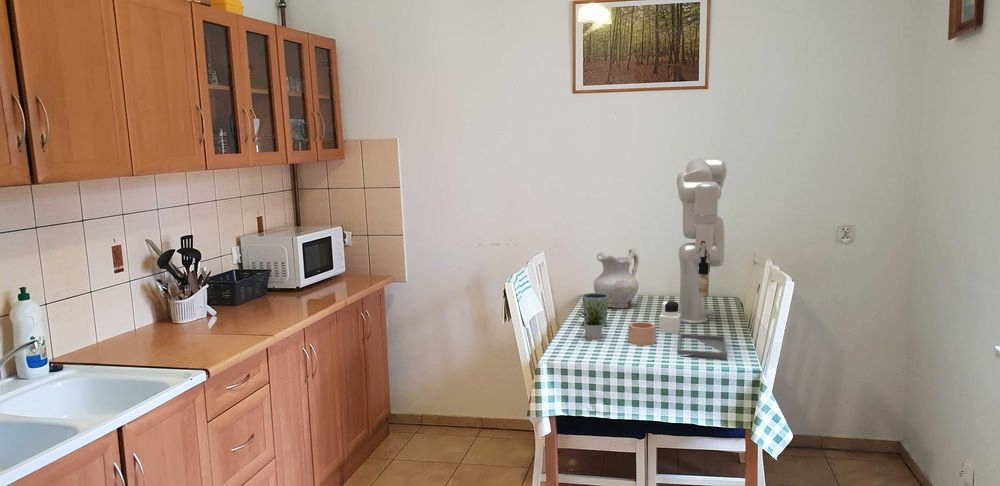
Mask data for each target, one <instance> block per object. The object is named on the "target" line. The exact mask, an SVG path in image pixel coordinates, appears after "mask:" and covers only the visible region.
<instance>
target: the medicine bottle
mask: <svg viewBox="0 0 1000 486" xmlns="http://www.w3.org/2000/svg"><path fill="white" fill-rule="evenodd" d="M679 306H680V303H678V302H676V301H673V300H666V301H663V302H662V303H661V313H660V315H659V319H658V320H659V321H658V322H659V323H658V324H659V325H658V327H659V328H658V332H659V333H668V334H680V332H681V322H680V315H681V314H680V312H679Z"/></svg>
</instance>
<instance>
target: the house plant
mask: <svg viewBox="0 0 1000 486" xmlns="http://www.w3.org/2000/svg"><path fill="white" fill-rule="evenodd" d="M591 299H592V301H593V310H592V305H591V303H590V302H589V301H588V299H586V301H587V305H588V310H587V311H588V312H587V311H586V312H587V313H588V315H589V316H588V315H587V314H585V313H584V311H581V310H579V313H581V314H579V315H578V316H577V317H581V318H583V320H585V319H586V318H587V319H588V320H589V321H587V319H586V321H587V322H585V321H584V322H583V327H584V333H585V338H586V339H589V340H600V339H601V338H602V333H603V328H604V327H603V323H602V322H599V321H600V320H601V319H602V320H604V319H603V317H605V319H606V316H605V315H606V314H607V315H608V314H609V313H610V312H612V311H607V313H605V314H604V312H603V311H604V309H605V308H606V307H607V306H609V305H607V304H606V303H607V302H609V301H611V300H608V301H606V302H605V303H604V304H603V305H602V306H601V308H600V309H599V306H600V303H601V298H600V299H599V300H598V303H597V306H596V307H595V301H594V299H593V298H592V297H591ZM575 302H576V303H577V301H575ZM578 304H579V305H581V303H580V302H578ZM605 304H606V305H607V306H606V307H605V308H604V309H603V311H602V312H603V313H602V312H601V313H600V314H599V312H600V311H601V309H602V308H603V306H604V305H605ZM610 305H613V304H610ZM582 308H583V309H585V308H586V307H585V308H584V307H583V306H582ZM607 308H608V307H607ZM586 309H587V308H586ZM586 309H585V310H586ZM598 309H599V311H598ZM598 314H599V315H598ZM602 314H604V315H603V316H601V315H602ZM584 316H585V317H586V318H585V317H584ZM600 316H601V317H600Z"/></svg>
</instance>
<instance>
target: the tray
mask: <svg viewBox="0 0 1000 486" xmlns="http://www.w3.org/2000/svg"><path fill="white" fill-rule="evenodd" d="M678 334H679V335H678V343H677V345H678V346H677V355H679V356H677V358H691V359H692V358H693V359H694V358H695V359H703V360H705V359H707V360H721V361H722V360H723V361H727V360H728V349H727V340H726V339H727V338H726V336H725V335H723V336H722V335H704V334H693V333H692V334H691V333H690V334H689V333H688V334H687V333H678ZM682 339H694V340H697V341H699V342H701V343H703V344H704V345H708V346H709V347H711V348H712V349H715V350H717V351H705V350H703V351H702V350H689V349H687V350H686V349H681V348H682V347H681V345H682Z"/></svg>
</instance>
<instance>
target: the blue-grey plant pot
mask: <svg viewBox="0 0 1000 486" xmlns="http://www.w3.org/2000/svg"><path fill="white" fill-rule="evenodd" d="M581 296H582V299H581V300H582V308H583V307H584V308H585V307H586V308H587V309H586V308H585V309H586V310H585V309H584V308H583V312H584V313H585V314H587V315H588V313H587V312H588V311H587V310H588V305H587V301H586V299H588V301H589V302H590V303H591V305H592V310H593V301H592V299H591V297H592V298H593V299H594V301H595V307H596V306H597V303H598V300H599V299H600V298H601V303H600V306H599V309H600V308H601V306H602V305H603V304H604V303H605V302H606V301H608V295H607V294H603V293H595V292H589V293H584V294H582V295H581ZM606 304H608V302H607V303H606ZM606 304H605V305H604V306H603V308H602V309H601V311H600V312H599V314H600V313H601V312H602V311H603V309H604V308H605V307H606V306H607V305H606ZM599 309H598V311H599ZM586 311H587V312H586ZM603 312H604V314H605V313H607V312H608V307H606V308H605V309H604V311H603ZM603 312H602V313H603ZM599 314H598V315H599ZM604 314H602V315H601V316H603V315H604ZM583 316H584V315H583ZM588 316H589V315H588ZM601 316H600V317H601ZM605 316H606V319H605V317H603V319H604V320H602V319H601V320H600V321H599V322H602V323H603V328H604V327H606V326H607V321H608V320H607V318H608V314H606V315H605ZM584 317H585V316H584ZM585 318H586V317H585ZM586 319H587V318H586ZM586 319H583V320H584V322H587V321H589V320H588V319H587V321H586Z"/></svg>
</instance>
